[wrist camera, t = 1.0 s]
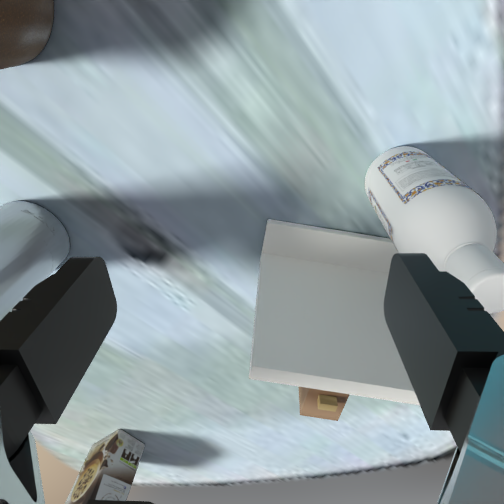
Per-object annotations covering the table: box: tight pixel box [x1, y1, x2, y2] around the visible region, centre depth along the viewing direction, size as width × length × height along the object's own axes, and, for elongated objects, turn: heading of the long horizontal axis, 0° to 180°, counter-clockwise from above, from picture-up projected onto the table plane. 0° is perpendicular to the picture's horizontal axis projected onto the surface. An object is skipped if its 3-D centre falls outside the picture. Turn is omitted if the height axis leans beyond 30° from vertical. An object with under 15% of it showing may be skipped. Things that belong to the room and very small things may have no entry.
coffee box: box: [65, 429, 145, 504], centre depth 60 cm, size 9×6×16 cm
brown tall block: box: [299, 387, 349, 421], centre depth 45 cm, size 5×5×11 cm
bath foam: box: [365, 146, 504, 313], centre depth 29 cm, size 7×7×20 cm
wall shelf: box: [249, 219, 420, 405], centre depth 36 cm, size 12×20×18 cm, turn 82°
